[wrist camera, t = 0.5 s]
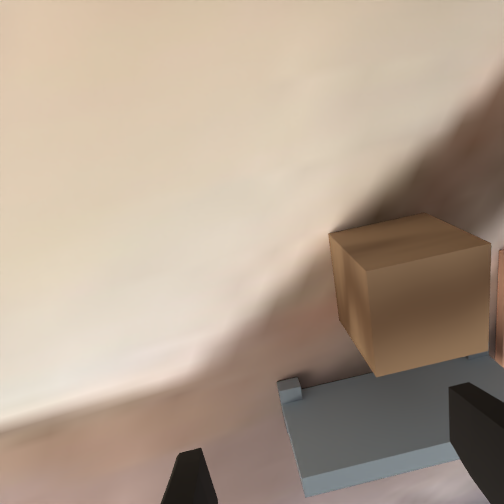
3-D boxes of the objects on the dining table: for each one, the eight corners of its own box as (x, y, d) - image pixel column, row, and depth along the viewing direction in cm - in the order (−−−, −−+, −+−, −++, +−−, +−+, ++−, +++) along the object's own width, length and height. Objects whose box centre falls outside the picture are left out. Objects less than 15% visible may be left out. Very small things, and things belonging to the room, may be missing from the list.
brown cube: (431, 297, 22) (493, 349, 17) (339, 319, 22) (376, 377, 17) (428, 211, 20) (497, 241, 15) (327, 233, 20) (366, 271, 15)
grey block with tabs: (478, 376, 24) (554, 449, 19) (284, 422, 23) (308, 511, 18) (479, 334, 23) (560, 399, 18) (276, 381, 22) (298, 463, 17)
